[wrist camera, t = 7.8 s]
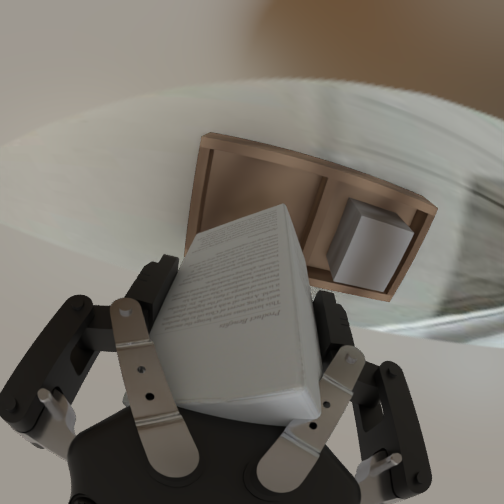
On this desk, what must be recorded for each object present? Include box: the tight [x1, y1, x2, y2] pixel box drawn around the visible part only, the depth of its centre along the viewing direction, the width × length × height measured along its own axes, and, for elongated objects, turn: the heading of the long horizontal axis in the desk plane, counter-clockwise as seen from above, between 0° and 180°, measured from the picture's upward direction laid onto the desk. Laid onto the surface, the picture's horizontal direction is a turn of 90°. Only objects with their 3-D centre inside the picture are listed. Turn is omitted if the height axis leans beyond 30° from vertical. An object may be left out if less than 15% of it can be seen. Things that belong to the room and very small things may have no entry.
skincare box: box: [123, 204, 323, 426], centre depth 12 cm, size 6×4×12 cm
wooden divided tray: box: [184, 132, 438, 302], centre depth 22 cm, size 20×11×5 cm, turn 77°
